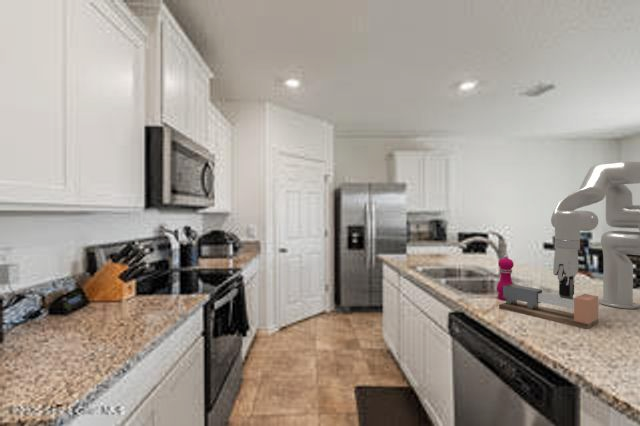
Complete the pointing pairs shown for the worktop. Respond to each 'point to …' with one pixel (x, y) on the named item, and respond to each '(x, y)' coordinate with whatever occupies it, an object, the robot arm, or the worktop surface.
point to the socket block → (585, 308)
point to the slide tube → (558, 298)
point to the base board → (547, 314)
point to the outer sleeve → (521, 295)
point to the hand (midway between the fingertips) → (566, 294)
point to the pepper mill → (504, 275)
